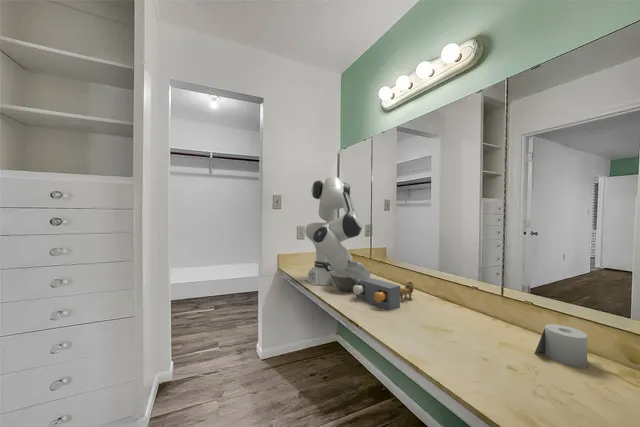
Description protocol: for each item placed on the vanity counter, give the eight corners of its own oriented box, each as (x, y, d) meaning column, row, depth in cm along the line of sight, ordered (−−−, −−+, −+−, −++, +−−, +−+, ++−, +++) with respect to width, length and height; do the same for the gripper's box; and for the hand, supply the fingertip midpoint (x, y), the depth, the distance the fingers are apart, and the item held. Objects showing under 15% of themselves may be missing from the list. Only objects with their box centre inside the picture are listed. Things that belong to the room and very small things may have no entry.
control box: (355, 297, 133) (356, 278, 133) (366, 294, 138) (366, 276, 138) (389, 310, 115) (389, 288, 115) (400, 306, 120) (400, 285, 120)
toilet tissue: (526, 352, 80) (526, 325, 80) (563, 350, 82) (563, 323, 82) (555, 369, 71) (555, 338, 71) (597, 366, 73) (596, 337, 73)
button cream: (353, 293, 129) (353, 284, 130) (359, 292, 132) (359, 283, 132) (359, 296, 126) (359, 286, 126) (366, 294, 128) (366, 285, 128)
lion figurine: (406, 296, 136) (406, 279, 136) (415, 298, 132) (415, 281, 132) (391, 302, 127) (391, 284, 127) (400, 304, 123) (401, 286, 123)
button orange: (373, 301, 118) (373, 290, 118) (380, 299, 121) (380, 289, 121) (381, 304, 114) (381, 293, 114) (388, 302, 117) (388, 291, 117)
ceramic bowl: (324, 292, 141) (324, 275, 141) (334, 282, 163) (334, 267, 163) (363, 297, 134) (363, 278, 134) (369, 285, 156) (369, 269, 156)
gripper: (363, 257, 96) (380, 279, 102) (330, 250, 113) (346, 270, 118) (354, 270, 94) (372, 291, 99) (322, 261, 110) (339, 280, 116)
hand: (358, 280), depth 109 cm, fingers closed
